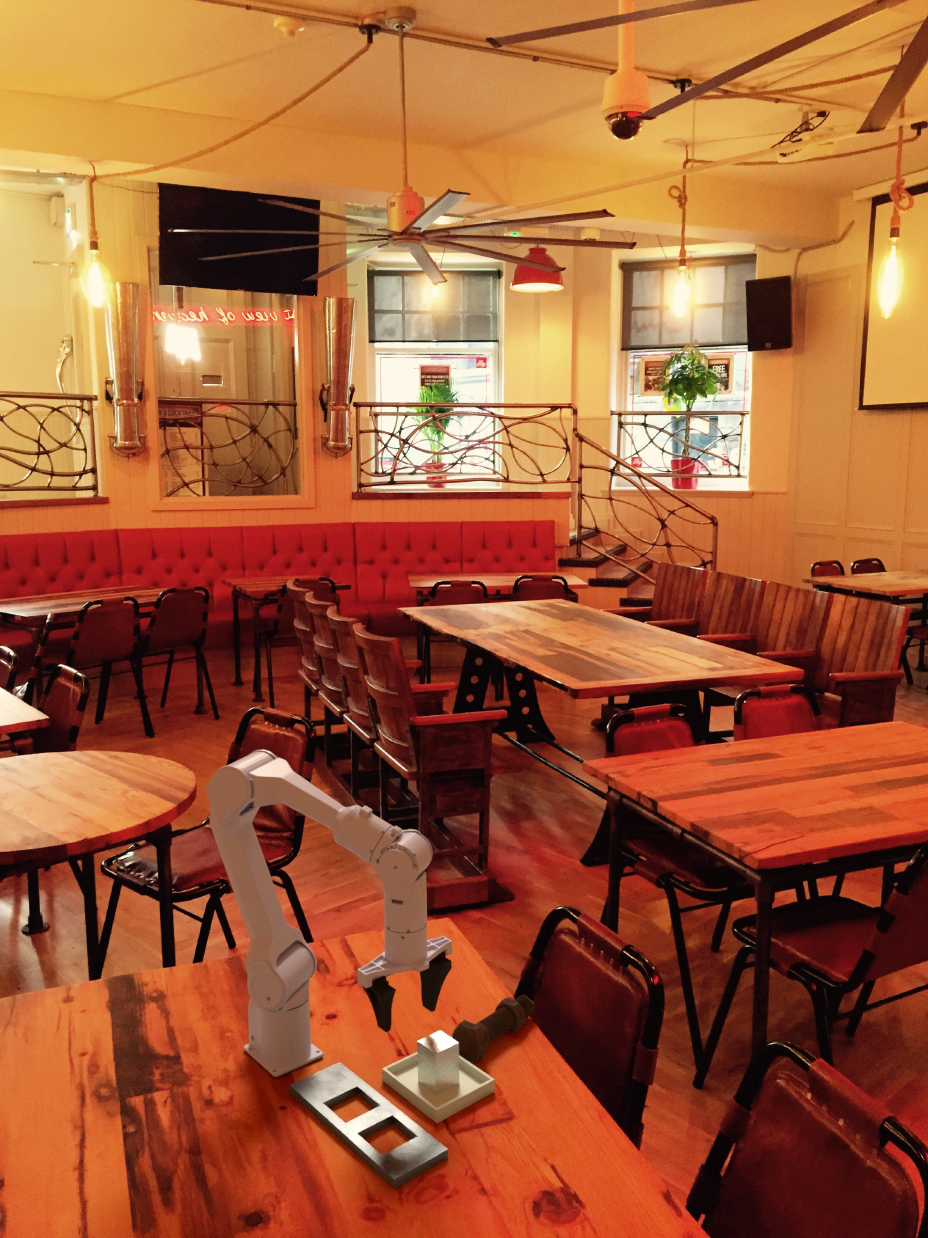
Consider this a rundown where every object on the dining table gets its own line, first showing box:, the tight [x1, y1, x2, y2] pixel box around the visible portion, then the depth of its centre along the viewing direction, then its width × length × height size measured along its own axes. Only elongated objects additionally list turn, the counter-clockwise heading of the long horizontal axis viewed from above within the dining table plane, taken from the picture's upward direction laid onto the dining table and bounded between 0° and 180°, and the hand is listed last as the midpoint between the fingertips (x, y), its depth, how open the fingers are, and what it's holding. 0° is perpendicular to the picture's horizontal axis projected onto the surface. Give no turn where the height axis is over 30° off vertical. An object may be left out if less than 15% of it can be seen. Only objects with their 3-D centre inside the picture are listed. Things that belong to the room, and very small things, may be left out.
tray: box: [381, 1051, 496, 1124], centre depth 133 cm, size 12×10×2 cm
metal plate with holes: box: [289, 1061, 449, 1190], centre depth 125 cm, size 24×8×1 cm, turn 40°
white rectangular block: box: [416, 1030, 459, 1096], centre depth 132 cm, size 4×4×6 cm
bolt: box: [451, 994, 535, 1064], centre depth 144 cm, size 6×5×15 cm
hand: (406, 1018), depth 133 cm, fingers open, 7 cm apart
